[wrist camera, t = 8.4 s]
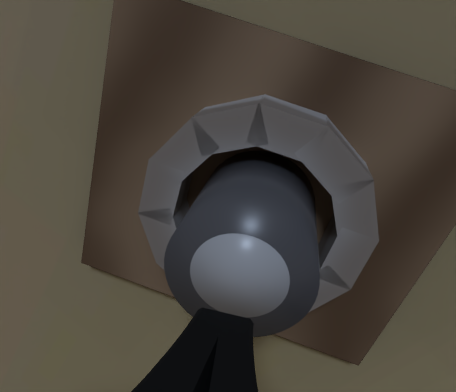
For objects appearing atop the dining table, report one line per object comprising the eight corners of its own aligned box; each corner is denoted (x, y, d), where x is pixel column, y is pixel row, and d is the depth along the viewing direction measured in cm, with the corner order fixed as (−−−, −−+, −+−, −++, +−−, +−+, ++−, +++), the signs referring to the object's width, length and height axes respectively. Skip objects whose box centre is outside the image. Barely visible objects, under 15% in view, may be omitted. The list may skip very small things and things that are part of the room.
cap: (326, 161, 15) (337, 225, 10) (302, 259, 17) (301, 352, 12) (210, 141, 16) (166, 192, 11) (201, 238, 18) (160, 319, 13)
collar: (516, 110, 14) (566, 129, 11) (355, 350, 20) (364, 399, 17) (127, -17, 15) (88, -29, 12) (90, 252, 21) (59, 285, 18)
